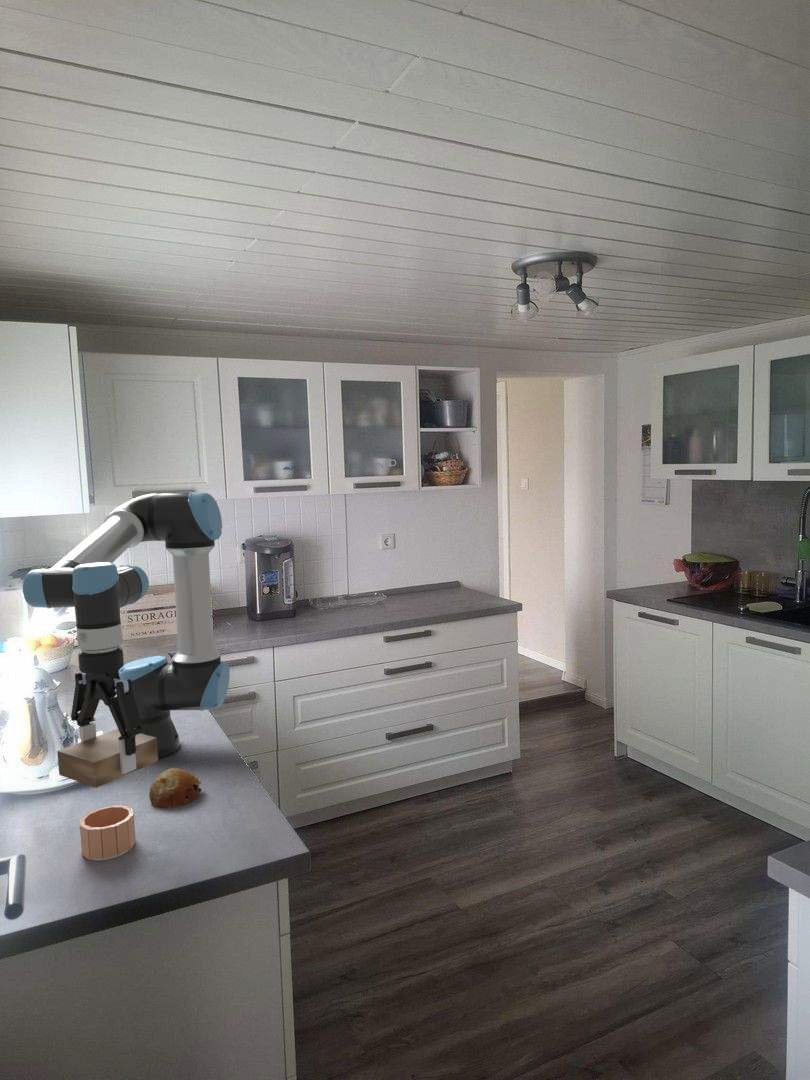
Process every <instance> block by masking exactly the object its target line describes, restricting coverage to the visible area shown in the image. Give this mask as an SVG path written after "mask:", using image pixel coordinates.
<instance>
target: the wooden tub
mask: <svg viewBox="0 0 810 1080" xmlns="http://www.w3.org/2000/svg"><path fill="white" fill-rule="evenodd" d="M134 815H135V813H134V809H133V808H132V807H129V806H127V805H109V806H104V807H99V808H96V809H93V810H92V811H90V812H87V813H86V814H84V815H83V816H82V817H81V818H80V819H79V831H80V843H81V844H80V845H81V847H80V848H81V854H82V856H83V857H84V858H85V859H86V860H88V861H89V860H90V861H96V862H98V861H107V860H112V859H115V858H119V857H120V856H123V855H125V854H126V853H128V852H129V851H131V850H132V849H133V847H134V846H135V844H136V842H137V841H136V840H137V839H136V827H135V826H136V825H135V816H134Z"/></svg>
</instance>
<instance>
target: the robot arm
mask: <svg viewBox="0 0 810 1080" xmlns="http://www.w3.org/2000/svg"><path fill="white" fill-rule="evenodd" d="M222 529H223V519H222V515H221V510H220V508H219V505H218V503H217V501H216V499H215V498H214V496H213V495H211V494H210V493H207V492H195V491H191V492H173V493H172V492H170V493H169V492H168V493H149V494H144V495H140V496H137V497H135V498H132V499H131V500H128V501H126V502H125V503H123V504H121V505H119V506H118V507H116V508H115V509H113V510H112V511H111V512H110V513H108V514H107V515H106V516H105V518H104V520H103V524H102V525H101V526H100V527H99V528H98V529H96V530H95V531H94V532H92V533H91V534H90V535H89V536H88V537H86V538H85V539H84V540H83V541H82V542H80V543H79V544H78V545H77V546H75V548H73V549H72V550H71V551H70V552H69V553H67V554H66V555H65V556H64V557H63V558H62V559H60V560H59V561H58V562H56V563H55V564H54V565H53V566H52V567H50V568H43V567H42V568H40V569H32V570H30V571H29V572H27V574H25V576H24V579H23V582H22V594H23V598H24V600H25V602H26V604H28V606H30V607H33V608H47V609H52V608H55V609H57V608H74V614H75V627H76V636H75V637H76V641H77V648H78V649H79V650H80V651H79V652H78V654H77V655H78V656H77V657H78V669H79V672H76V673H74V684H75V686H74V693H73V699H72V706H71V713H70V720H71V721H72V722H74V721H75V722H76V725H77V726H79V733H80V734H79V735H80V736H79V737H80V742H83V741H86V740H88V739H91V738H94V737H97V725H96V723H95V721H96V718H95V714H96V711H97V709H98V706H99V704H100V701H102V702H103V704H104V705H105V706H107V707H108V708H109V711H110V713H111V715H112V718H113V720H114V723H115V725H116V727H117V729H118V730H119V732H120V734H121V736H120V737H119V738H118V740H119V753H120V766H121V774H126V773H128V772H130V771H133V770H135V769H137V768H136V754H135V753H136V742H135V736H136V735H138V734H140V733H141V734H144V735H148V736H152V737H156V738H157V749H158V759H161V758H164V757H166V756H169V755H171V754H173V753H174V752H176V751H178V749H179V748H180V745H181V744H180V735H179V734H178V731H177V729H176V726H175V724H174V722H173V720H172V717H171V715H172V714H171V711H201V712H204V711H208V710H217V709H219V708H220V707H221V706H222V705H223V703H224V701H225V699H226V697H227V694H228V690H229V685H230V677H231V675H230V672H231V670H230V668H229V667H230V666H229V664H228V662H225V661H222V660H221V653H220V652H219V651H218V650H216V649H215V645H214V624H213V610H212V609H213V606H212V591H211V588H212V587H211V586H212V585H211V572H210V571H211V569H210V552H211V551H212V550H213V549H214V548H215V546H216V545H215V544H216V543H215V542H216V540H219V539H220V538H221V536H222V533H223V532H222ZM154 541H155V542H156V541H158V542H161V541H162V542H165V550H166V551H167V552H169V553H170V554H171V556H172V568H173V585H174V586H173V587H174V603H175V605H174V606H175V618H176V619H175V620H176V637H177V639H176V640H177V651H176V653H175V654H174V655H173V656H172V658H171V660H172V661H171V662H172V663H171V662H169V659H168V658H167V657H166V656H164V655H155V656H148V657H144V658H139V659H135V660H133V661H130V662H127V663H125V660H124V648H123V647H122V645H123V643H124V641H123V631H122V619H121V608H123V607H126V606H129V605H133V604H135V603H136V602H138V601H139V600H141V599H142V598H144V597H145V595H146V594H147V592H148V589H149V587H150V586H149V585H150V584H149V583H150V582H149V577H148V575H147V573H146V572H145V571H144V569H142V568H141V567H139V566H137V565H133V564H127V565H123V564H121V565H120V566H116V564H115V563H114V562H115V561H116V560H117V559H118V558H119V557H121V555H122V554H123V553H125V552H126V550H127V549H131V548H134V547H135V548H136V546H138V545H139V544H140V543H144V542H154ZM168 662H169V663H168ZM124 663H125V664H124ZM126 730H127V731H126Z"/></svg>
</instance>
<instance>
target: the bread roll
mask: <svg viewBox="0 0 810 1080" xmlns="http://www.w3.org/2000/svg"><path fill="white" fill-rule="evenodd" d="M200 784H201V785H202V782H201V781H200V780H199V778H198V777H197V776H195V775H194V774H191V772H189V771H187V770H182V769H180V768H175V767H172V768H169V769H166V770H164V771H163V772H161V773H160V774H159V775H158V776H157V777H156V778H155V779H154V781H153V782H152V783H151V785H150V787H149V788H150V789H149V795H148V796H149V800H150V803H151V804H152V805H153V806H155V807H158V808H172V807H179V806H183V805H186V804H188V803H192V802H193V801H194V800H195V799H196V798H197V797H198V795H199V793H201V792H202V788H200Z"/></svg>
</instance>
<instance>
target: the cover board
mask: <svg viewBox="0 0 810 1080" xmlns="http://www.w3.org/2000/svg"><path fill="white" fill-rule="evenodd" d="M126 731H127V730H126ZM120 736H121V734H120V732H119V730H118V728H116V729H113V730H111V731H107V732H105V733H102V734H99V735H96V737H94V738H91V739H88V740H86V741H83V742H81V741H80V742H77V743H75V744H73V745H69V746H67V747H64V748H62V749H58V750H57V753H56V754H57V763H58V774H59V776H62V777H64V778H67V779H70V780H73V781H76V782H79V783H81V784H84V785H87V786H90V787H93V788H99V787H101V786H104V785H106V784H108V783H111V782H112V781H115V780H117V779H120V778H123V777H124V776H127V775H128V774H131V773H134V772H136V771H138V770H141V769H143V768H145V767H148V766H150V765H153V764H155V763H157V762H159V758H158V749H157V738H156V737H152V736H148V735H144V734H141V733H140V734H138V735H136V736H135V742H136V753H135V754H136V768H137V769H135V770H133V771H130V772H128V773H126V774H121V766H120V753H119V740H118V738H119V737H120Z"/></svg>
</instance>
